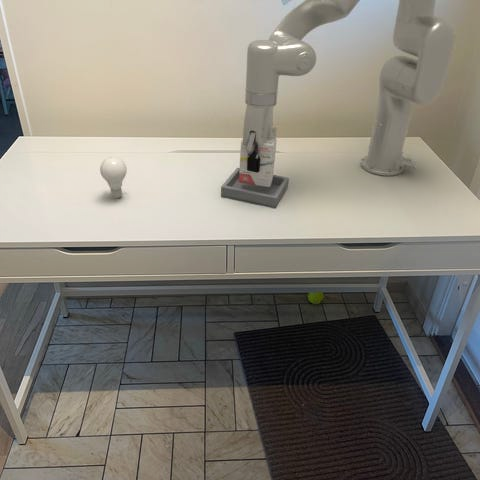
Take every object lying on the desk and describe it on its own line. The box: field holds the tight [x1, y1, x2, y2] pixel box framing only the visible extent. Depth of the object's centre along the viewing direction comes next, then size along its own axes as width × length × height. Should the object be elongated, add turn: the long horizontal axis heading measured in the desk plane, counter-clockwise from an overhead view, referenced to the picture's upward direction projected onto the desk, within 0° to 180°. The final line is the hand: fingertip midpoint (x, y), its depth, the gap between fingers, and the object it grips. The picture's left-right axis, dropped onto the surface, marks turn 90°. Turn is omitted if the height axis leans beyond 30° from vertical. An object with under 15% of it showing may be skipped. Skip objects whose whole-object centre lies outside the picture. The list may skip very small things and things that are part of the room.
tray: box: [220, 167, 290, 209], centre depth 126 cm, size 15×12×3 cm
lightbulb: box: [99, 156, 128, 199], centre depth 119 cm, size 6×6×11 cm
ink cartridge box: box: [238, 126, 278, 187], centre depth 121 cm, size 9×5×15 cm, turn 78°
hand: (256, 165), depth 122 cm, fingers closed on ink cartridge box, 5 cm apart
